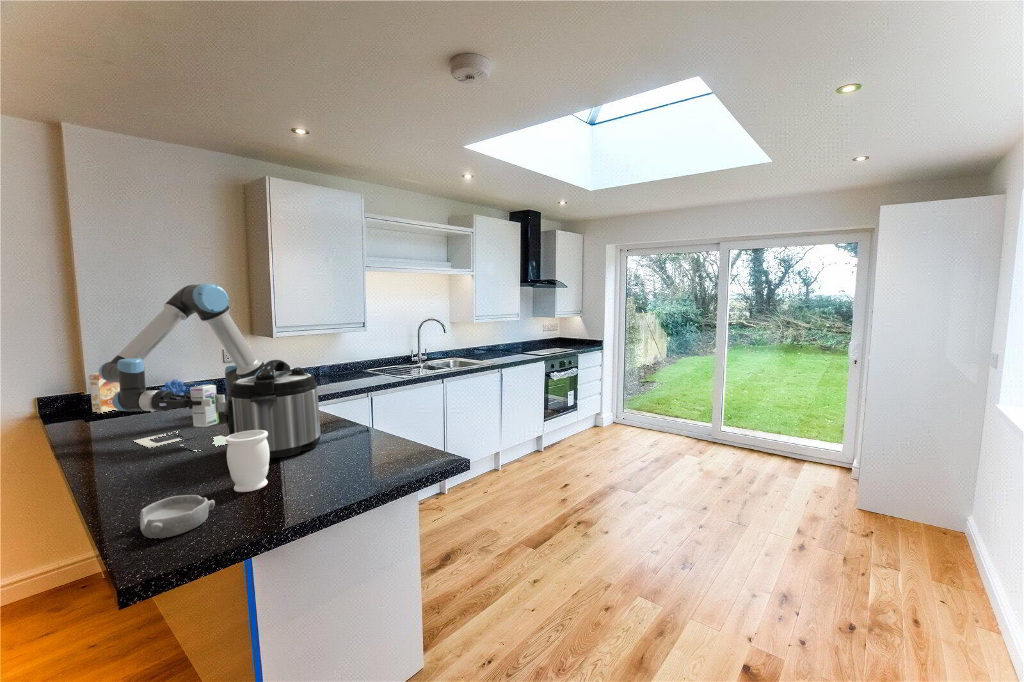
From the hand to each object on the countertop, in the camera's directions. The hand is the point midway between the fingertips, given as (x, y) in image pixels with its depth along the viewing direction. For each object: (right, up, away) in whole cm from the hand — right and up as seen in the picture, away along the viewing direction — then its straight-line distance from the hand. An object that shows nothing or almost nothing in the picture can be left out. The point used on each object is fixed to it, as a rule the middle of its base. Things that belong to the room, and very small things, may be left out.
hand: (217, 400), depth 170 cm
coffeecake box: (-92, -13, +64) cm, 113 cm away
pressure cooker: (+25, -17, -6) cm, 31 cm away
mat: (-5, -16, +2) cm, 17 cm away
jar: (+34, -20, -39) cm, 55 cm away
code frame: (-26, -16, +10) cm, 32 cm away
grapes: (-74, -11, +80) cm, 110 cm away
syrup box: (-5, -9, +1) cm, 11 cm away
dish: (+29, -22, -60) cm, 70 cm away
